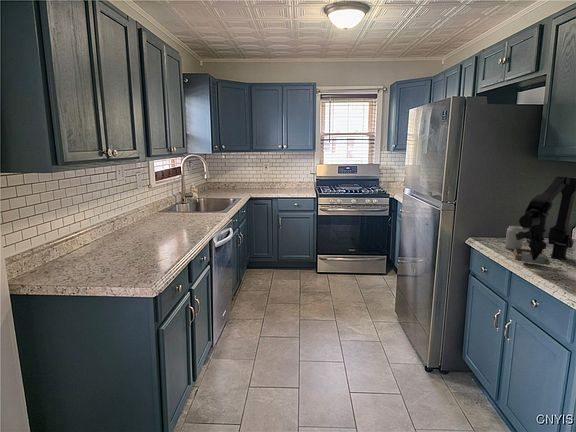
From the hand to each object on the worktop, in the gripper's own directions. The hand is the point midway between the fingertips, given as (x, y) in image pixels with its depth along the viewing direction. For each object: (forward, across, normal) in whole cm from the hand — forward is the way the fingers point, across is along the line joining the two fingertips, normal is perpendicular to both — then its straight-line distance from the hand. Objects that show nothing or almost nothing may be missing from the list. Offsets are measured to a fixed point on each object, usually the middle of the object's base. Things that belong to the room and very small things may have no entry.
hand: (533, 258), depth 171 cm
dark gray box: (+2, 0, 0) cm, 2 cm away
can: (+3, -26, -6) cm, 27 cm away
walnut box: (+3, -12, 0) cm, 13 cm away
